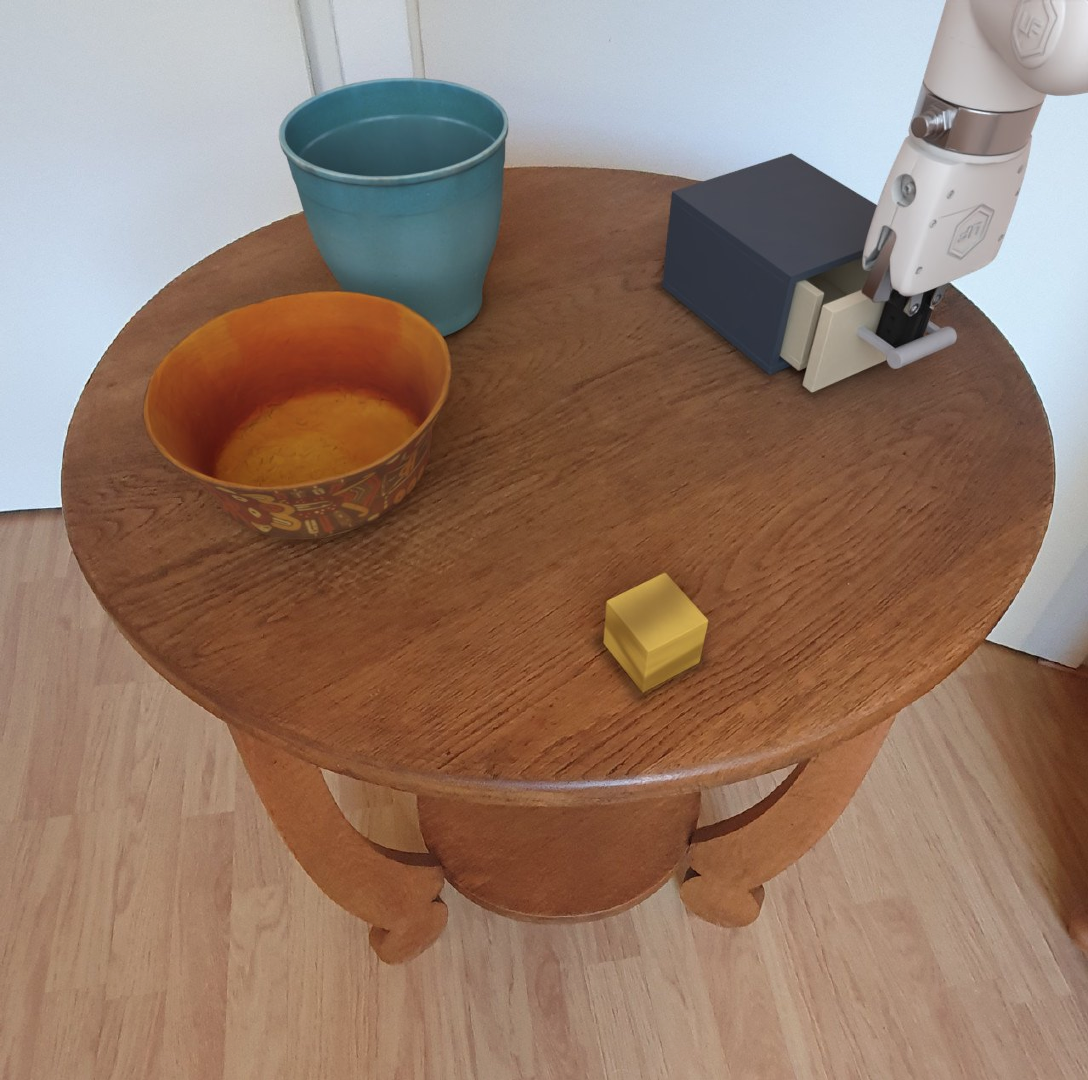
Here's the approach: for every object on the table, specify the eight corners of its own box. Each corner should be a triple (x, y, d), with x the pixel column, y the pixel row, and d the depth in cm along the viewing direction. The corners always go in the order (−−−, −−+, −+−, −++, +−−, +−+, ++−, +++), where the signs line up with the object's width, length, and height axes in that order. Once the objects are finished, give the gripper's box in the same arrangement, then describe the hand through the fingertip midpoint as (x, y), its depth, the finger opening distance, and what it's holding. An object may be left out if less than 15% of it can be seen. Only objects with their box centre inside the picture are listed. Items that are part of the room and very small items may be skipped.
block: (699, 662, 61) (708, 620, 57) (642, 693, 59) (648, 651, 56) (659, 614, 63) (665, 571, 60) (602, 643, 62) (606, 600, 58)
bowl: (161, 599, 64) (111, 496, 57) (202, 399, 78) (166, 295, 71) (469, 574, 66) (459, 470, 58) (455, 381, 80) (446, 278, 72)
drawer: (964, 376, 79) (998, 296, 73) (854, 427, 74) (880, 346, 69) (807, 266, 90) (825, 189, 84) (703, 305, 85) (714, 227, 80)
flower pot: (304, 270, 91) (265, 91, 78) (484, 240, 95) (474, 63, 82) (335, 383, 80) (294, 194, 67) (538, 343, 83) (537, 157, 70)
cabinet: (886, 326, 85) (917, 229, 78) (769, 375, 80) (791, 276, 73) (772, 246, 94) (791, 153, 87) (661, 286, 89) (671, 191, 82)
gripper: (935, 168, 57) (859, 402, 71) (1096, 111, 62) (996, 340, 76) (848, 120, 61) (793, 350, 75) (1006, 71, 67) (927, 294, 80)
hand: (895, 344), depth 76 cm, fingers closed
